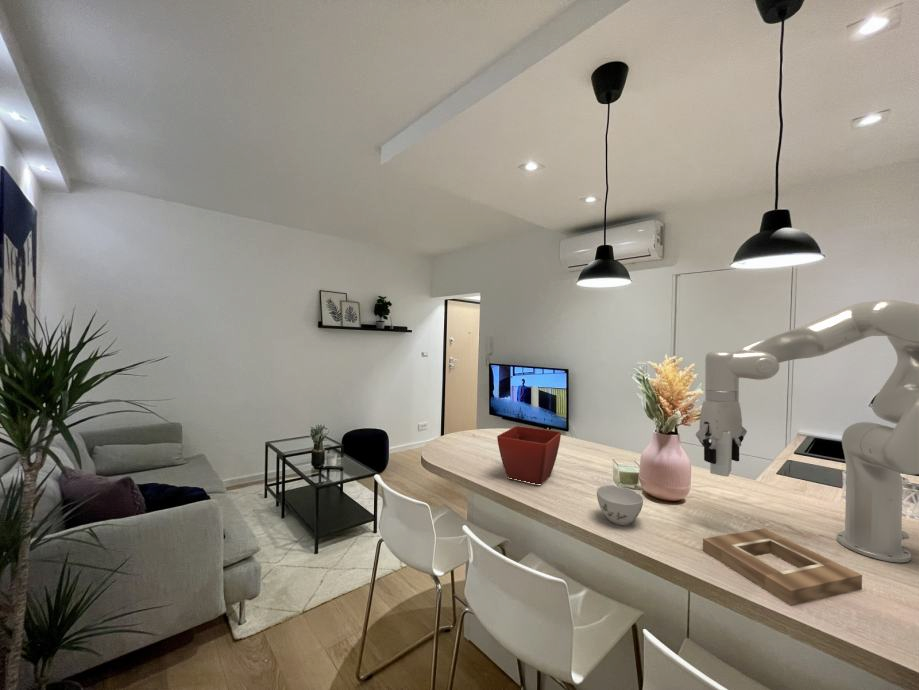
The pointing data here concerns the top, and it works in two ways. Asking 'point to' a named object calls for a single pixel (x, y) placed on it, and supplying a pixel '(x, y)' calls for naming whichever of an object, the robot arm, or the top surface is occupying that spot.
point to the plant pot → (529, 453)
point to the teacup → (619, 503)
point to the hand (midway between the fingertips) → (721, 460)
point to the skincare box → (723, 455)
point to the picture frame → (790, 586)
